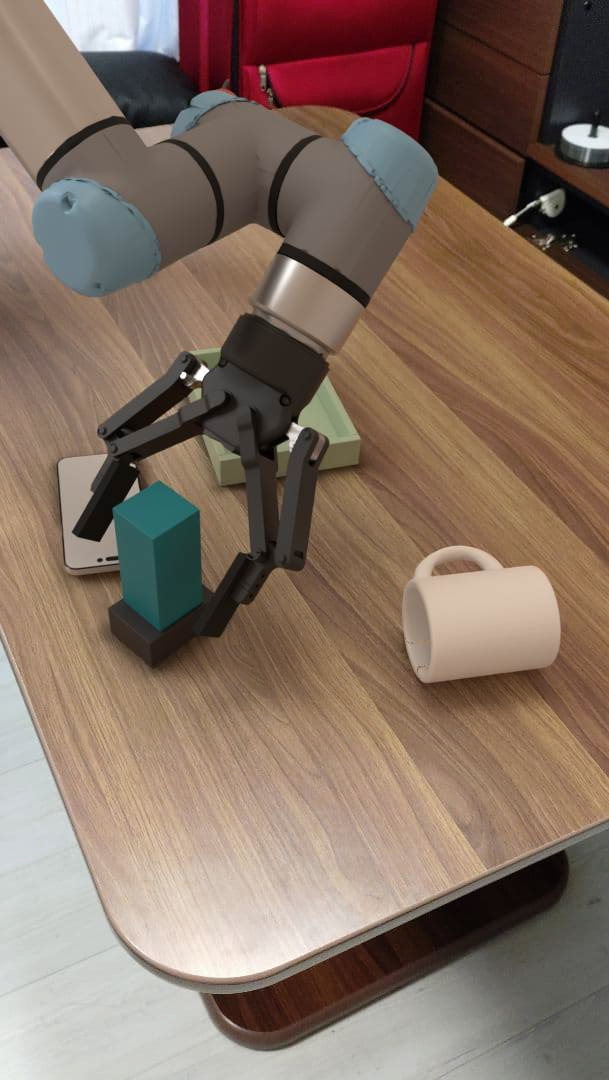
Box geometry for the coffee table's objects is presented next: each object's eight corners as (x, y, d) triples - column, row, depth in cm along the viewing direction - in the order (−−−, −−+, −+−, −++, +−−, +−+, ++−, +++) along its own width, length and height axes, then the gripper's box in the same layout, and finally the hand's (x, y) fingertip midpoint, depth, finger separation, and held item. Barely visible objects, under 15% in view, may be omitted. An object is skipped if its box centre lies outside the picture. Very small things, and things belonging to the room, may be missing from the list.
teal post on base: (110, 632, 77) (94, 514, 68) (176, 586, 81) (170, 469, 72) (152, 668, 75) (141, 551, 66) (218, 619, 79) (216, 502, 70)
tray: (180, 376, 102) (179, 352, 100) (304, 360, 105) (306, 336, 103) (220, 486, 90) (220, 461, 88) (358, 464, 94) (361, 439, 91)
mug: (546, 687, 76) (571, 621, 70) (423, 704, 74) (439, 638, 68) (495, 575, 84) (514, 508, 78) (384, 588, 82) (395, 520, 77)
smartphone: (134, 450, 92) (153, 559, 82) (135, 459, 93) (154, 569, 82) (55, 457, 91) (64, 570, 80) (57, 467, 91) (65, 580, 81)
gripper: (444, 427, 68) (287, 680, 70) (199, 287, 79) (71, 510, 81) (406, 397, 61) (234, 678, 64) (144, 249, 72) (7, 492, 75)
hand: (142, 584), depth 73 cm, fingers open, 13 cm apart
